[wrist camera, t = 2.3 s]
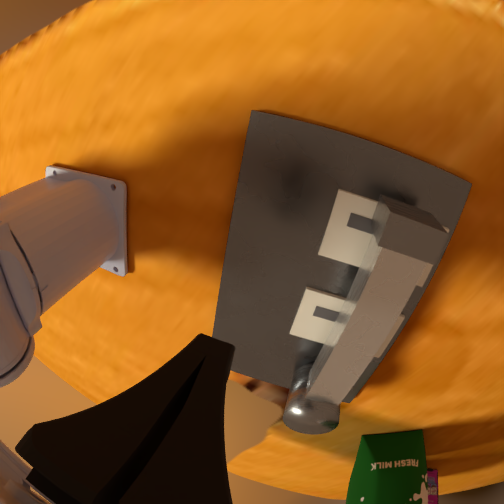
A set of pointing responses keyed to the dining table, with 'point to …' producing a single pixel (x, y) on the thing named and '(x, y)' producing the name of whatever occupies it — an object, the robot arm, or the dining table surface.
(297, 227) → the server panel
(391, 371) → the dining table surface
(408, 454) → the milk carton
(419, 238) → the bar
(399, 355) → the dining table surface
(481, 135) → the dining table surface
